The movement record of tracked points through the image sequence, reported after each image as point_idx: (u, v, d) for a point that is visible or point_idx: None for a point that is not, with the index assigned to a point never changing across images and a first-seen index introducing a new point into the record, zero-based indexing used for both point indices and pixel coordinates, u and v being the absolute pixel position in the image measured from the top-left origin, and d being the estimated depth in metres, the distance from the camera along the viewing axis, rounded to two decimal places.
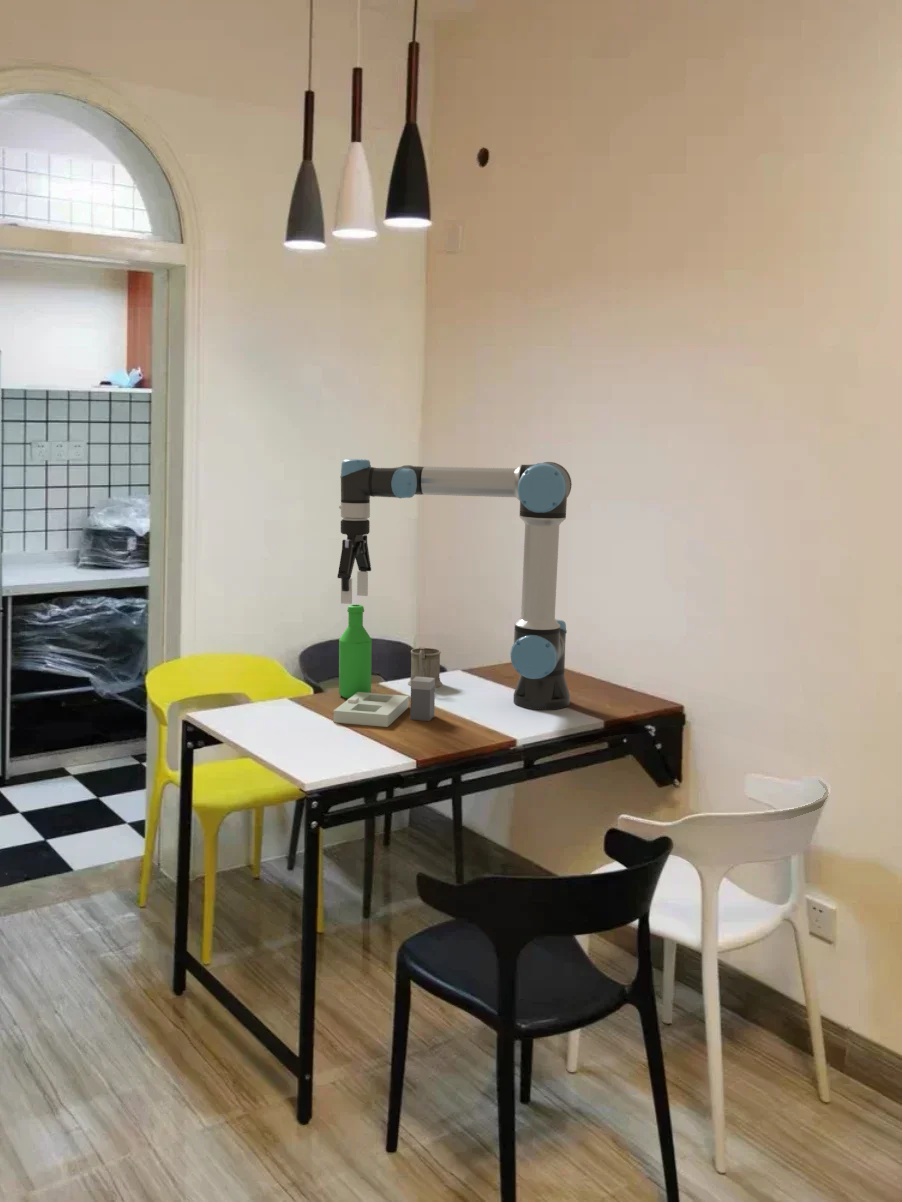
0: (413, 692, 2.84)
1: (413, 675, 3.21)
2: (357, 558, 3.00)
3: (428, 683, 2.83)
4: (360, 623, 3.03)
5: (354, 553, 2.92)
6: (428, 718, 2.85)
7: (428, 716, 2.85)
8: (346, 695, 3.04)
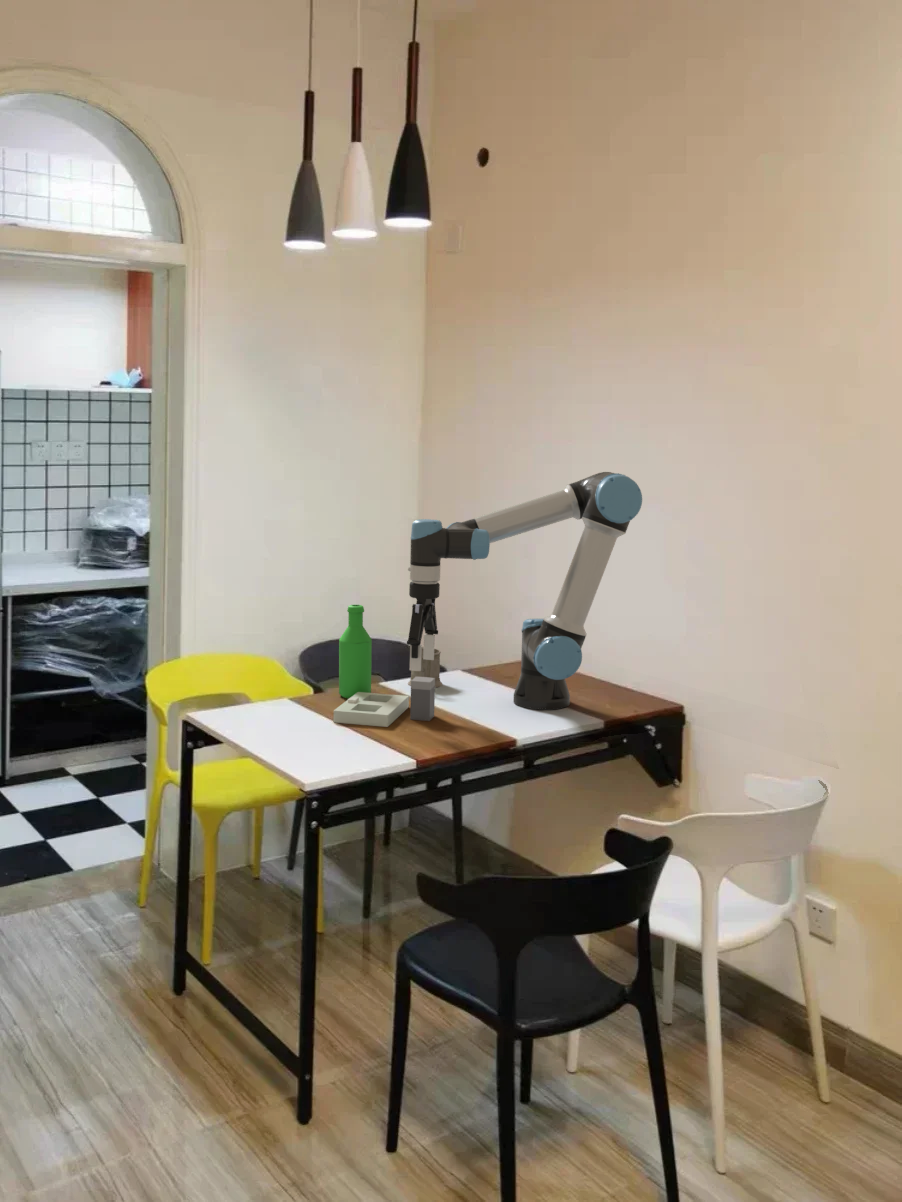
0: (413, 692, 2.84)
1: (413, 675, 3.21)
2: (424, 621, 2.88)
3: (428, 683, 2.83)
4: (360, 623, 3.03)
5: (424, 618, 2.79)
6: (428, 718, 2.85)
7: (428, 716, 2.85)
8: (346, 695, 3.04)
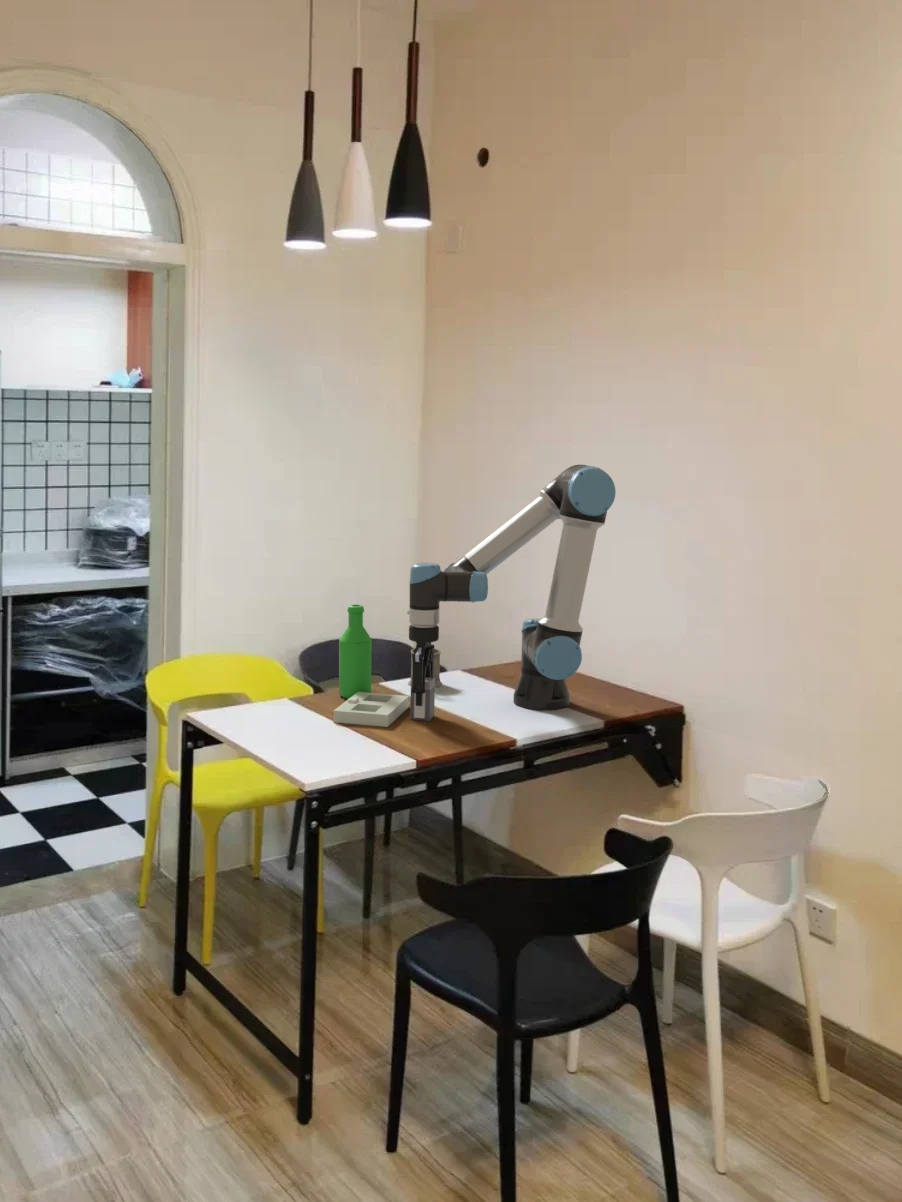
0: None
1: None
2: None
3: (428, 683, 2.83)
4: (360, 623, 3.03)
5: (425, 664, 2.82)
6: (428, 718, 2.85)
7: (428, 716, 2.85)
8: (346, 695, 3.04)
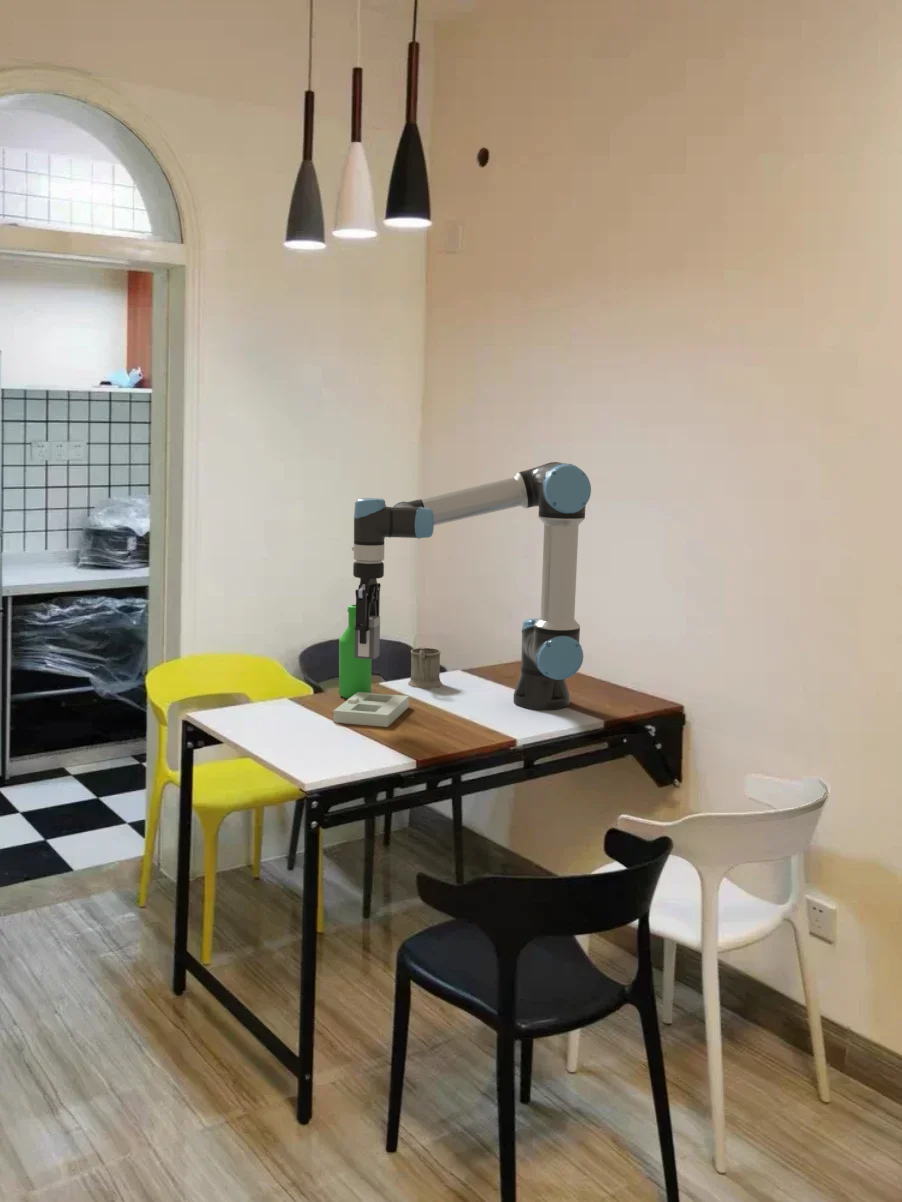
0: (357, 630, 2.79)
1: (413, 675, 3.21)
2: None
3: (372, 620, 2.78)
4: None
5: (369, 601, 2.77)
6: (372, 656, 2.79)
7: (372, 654, 2.79)
8: (346, 695, 3.04)
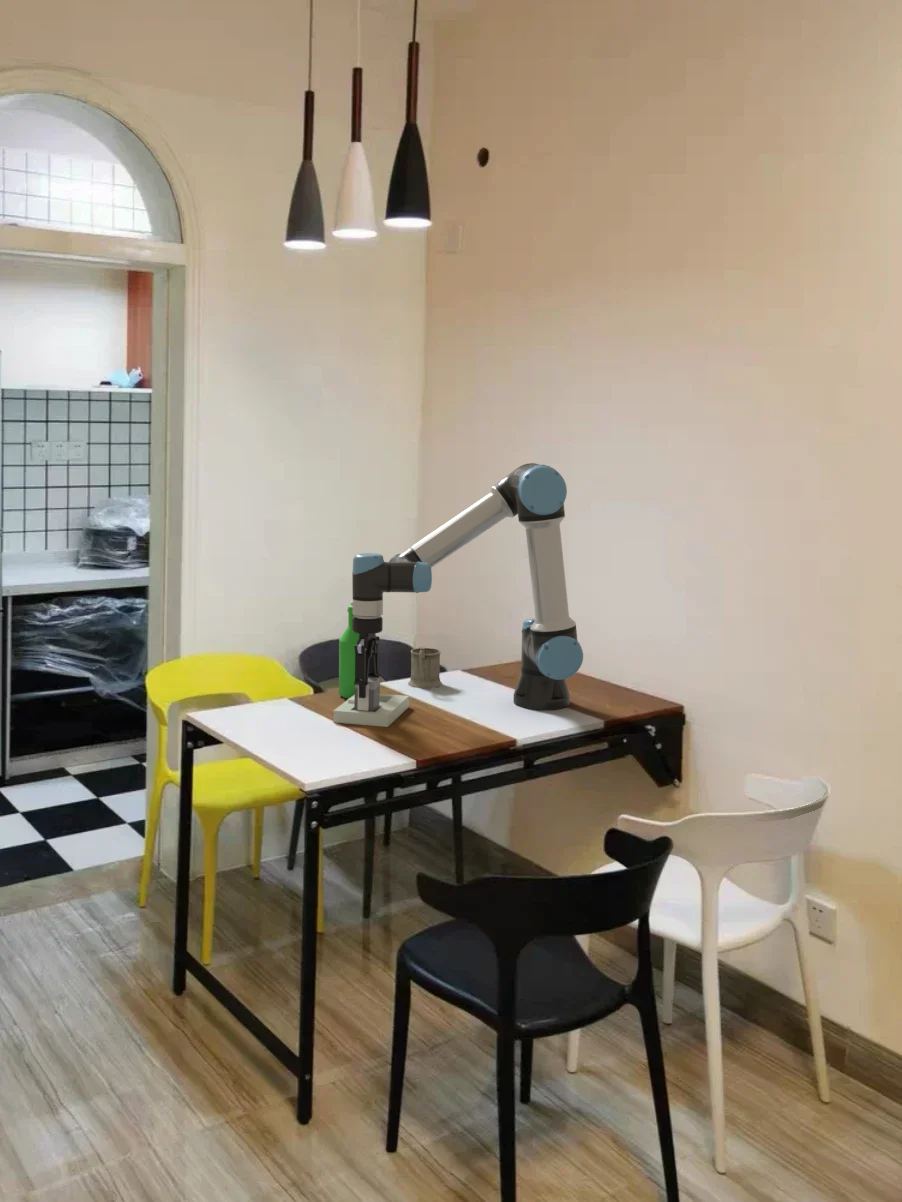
0: (357, 691, 2.81)
1: (413, 675, 3.21)
2: None
3: (372, 683, 2.80)
4: None
5: (368, 655, 2.79)
6: None
7: None
8: (346, 695, 3.04)
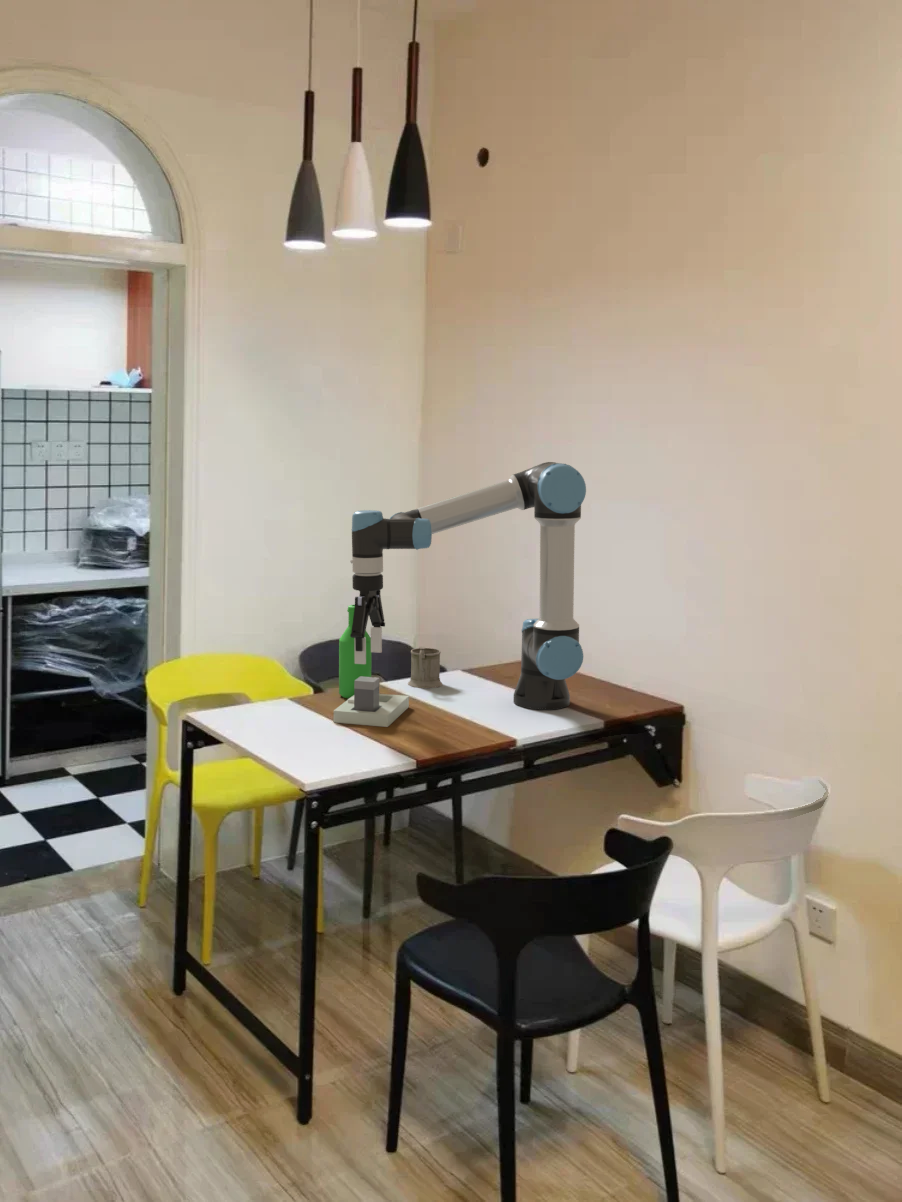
0: (357, 692, 2.81)
1: (413, 675, 3.21)
2: (370, 614, 2.85)
3: (371, 683, 2.80)
4: None
5: (367, 610, 2.76)
6: None
7: None
8: (346, 695, 3.04)
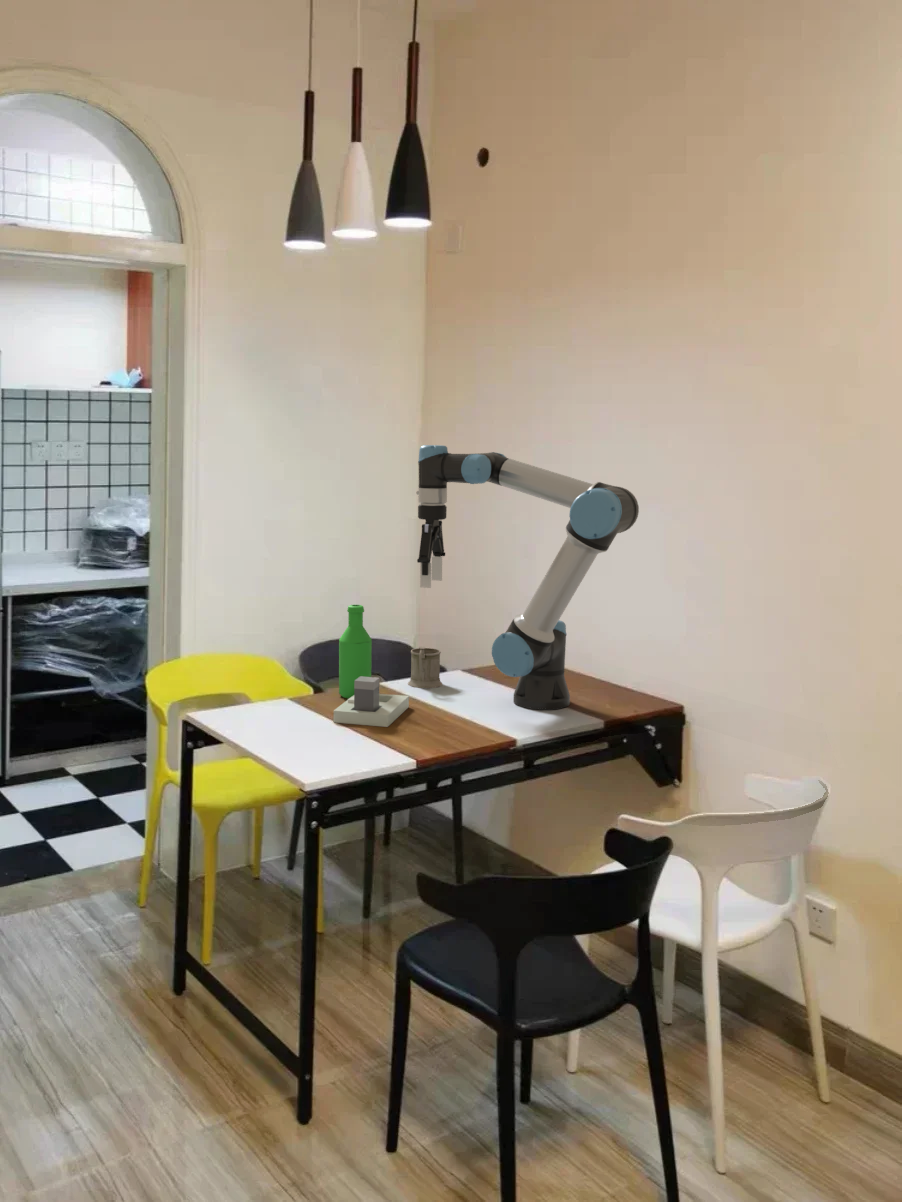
0: (357, 692, 2.81)
1: (413, 675, 3.21)
2: (432, 543, 3.04)
3: (371, 683, 2.80)
4: (360, 623, 3.03)
5: (432, 538, 2.96)
6: None
7: None
8: (346, 695, 3.04)
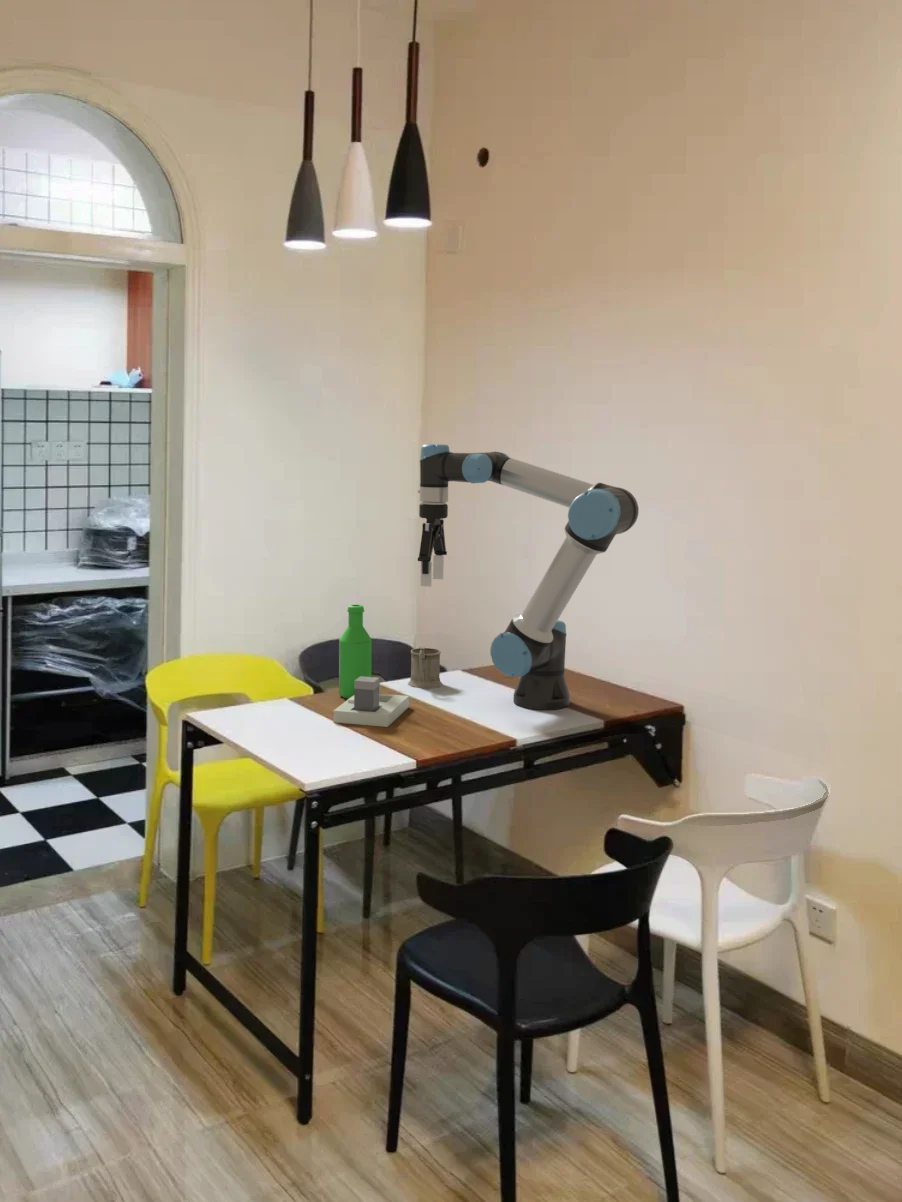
0: (357, 692, 2.81)
1: (413, 675, 3.21)
2: (434, 542, 3.05)
3: (371, 683, 2.80)
4: (360, 623, 3.03)
5: (433, 536, 2.96)
6: None
7: None
8: (346, 695, 3.04)
